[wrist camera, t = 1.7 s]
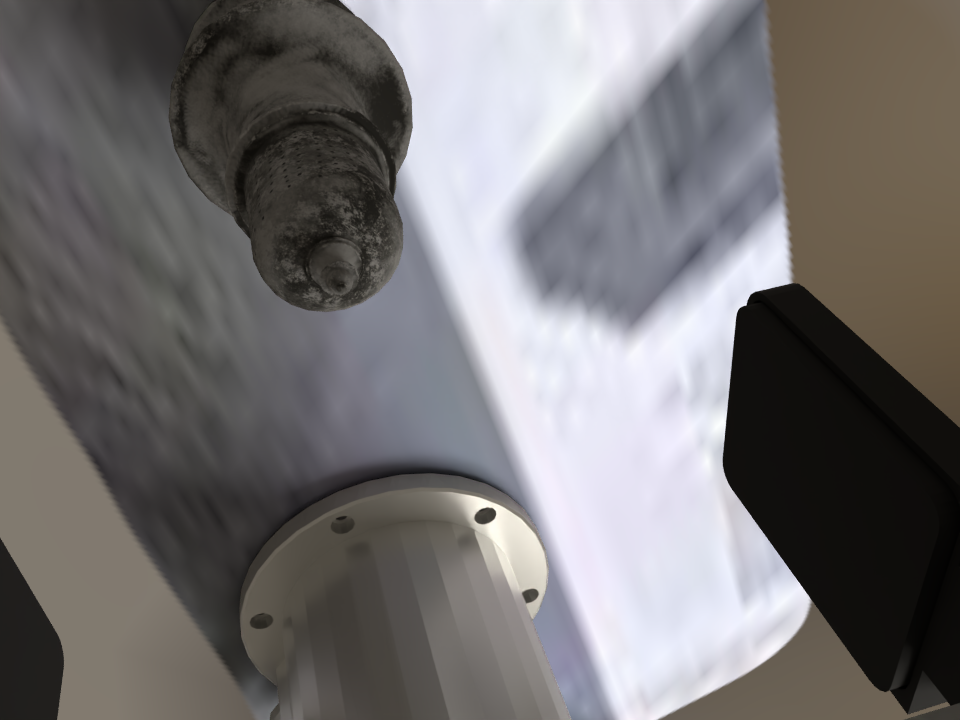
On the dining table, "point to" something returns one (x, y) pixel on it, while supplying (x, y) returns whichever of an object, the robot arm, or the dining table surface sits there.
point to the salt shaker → (298, 142)
